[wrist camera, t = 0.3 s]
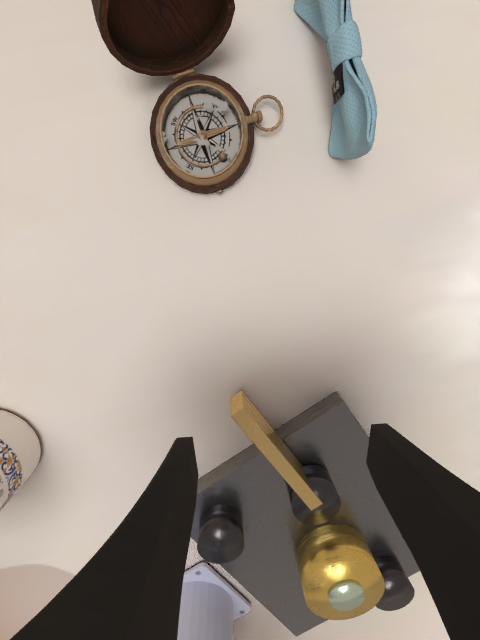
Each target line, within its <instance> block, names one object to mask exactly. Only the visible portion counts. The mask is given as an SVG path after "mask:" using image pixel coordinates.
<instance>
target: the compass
mask: <svg viewBox="0 0 480 640" xmlns="http://www.w3.org/2000/svg"><path fill="white" fill-rule="evenodd" d="M92 5H93V9H94V14H95V19H96V22H97V25H98V28H99V31H100V33H101V36H102V39H103V41H104V42H105V44H106V46H107V48H108V49H109V51H110V53H111V54H112V55H113V56H114V57H115V58H116V59H117V60H118V61H119V62H120V63H121V64H122V65H124V66H126V67H128V68H130V69H131V70H133V71H135V72H138V73H142V74H146V75H151V76H168V75H172V76H173V79H177V78H178V79H177V80H176V81H174V82H172V83H171V84H170V85H169V86H168V87H167V88H166V89H165V90H164V92H163V93H162V94H161V95H160V96H159V98H158V100H157V102H156V105H155V107H154V109H153V111H152V117H151V123H150V136H151V145H152V148H153V151H154V153H155V156H156V159H157V161H158V163H159V164H160V166H161V167H162V169H163V170H164V171H165V173H166V174H167V175H168V176H169V177H170V178H171V179H172V180H173V181H174V182H175V183H177V184H178V185H179V186H181V187H183V188H185V189H187V190H190V191H192V192H198V193H205V194H207V193H213V192H217V193H221V192H222V191H223V189H225V188H227V187H229V186H231V185H232V184H233V183H234V182H235V181H236V180H237V179H238V178H239V177H240V176H241V175H242V174H243V172H244V170H245V169H246V167H247V165H248V163H249V161H250V157H251V153H252V149H253V145H254V126H253V125H252V123H254V124H255V125H256V126H257V127H258V128H259V129H260V130H263V131H266V132H267V131H273V130H274V129H276V128H277V127H278V126H279V125H280V123H281V122H282V118H283V107H282V105H281V103H280V101H279V100H278V99H277V98H276V97H274V96H271V95H263V96H262V97H260V98H258V99H257V101H256V102H255V103H254V105H253V109H252V114H251V115H250V111H249V109H248V107H247V106H246V104H245V102H244V100H243V99H242V97H241V95H240V94H239V93H238V92H237V91H236V90H235V89H234V88H233V87H232V86H231V85H230V84H228V83H226V82H224V81H222V80H221V79H219V78H217V77H215V76H209V75H204V74H192V75H190V74H191V73H194V69H193V67H194V66H196V65H198V64H199V63H201V62H202V61H203V60H205V59H206V58H207V57H209V56H210V55H211V54H212V53H213V52H214V50H215V49H216V48H217V47H218V46H219V45H220V44H221V42H222V41H223V39H224V37H225V35H226V33H227V32H228V30H229V28H230V26H231V22H232V18H233V15H234V11H235V4H234V0H92ZM265 98H270V99H273V100H275V101H276V102H277V103H278V105H279V107H280V111H281V116H280V120H279V122H278V123H277V125H276V126H274V127H272V128H267V129H266V128H263V127H261V126H260V125H259V124H258V123H257V122H260V121H262V113H261V111H257V112H254V111H255V107H256V105H257V104H258V102H259V101H261V100H262V99H265Z"/></svg>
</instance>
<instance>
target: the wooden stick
mask: <svg viewBox="0 0 480 640" xmlns="http://www.w3.org/2000/svg"><path fill="white" fill-rule="evenodd" d="M230 408H231V417H232V418H233V419H234V420H235V422H236V423H237V424H238V425H239V426H240V427H241V429H242V430H243V431H244V432H245V433H246V435H247V436H248V437H249V438H250V439H251V440H252V442H253V443H254V444H255V445H256V446H257V447H258V449H259V450H260V451H261V452H262V453H263V454H264V456H265V457H266V458H267V459H268V460H269V462H270V463H271V464H272V465H273V466H274V467H275V469H276V470H277V471H278V472H279V473H280V474H281V476H282V477H283V478H284V479H285V480H286V482H287V491H288V495H289V499H290V503H291V507H292V511H293V514H294V516H295V517H296V518H297V519H298V520H299V521H300V522H302V523H304V524H308V525H319V524H323V523H326V522H328V521H330V520H331V519H332V518H334V517H335V516H336V515H337V513H338V512H339V510H340V506H341V500H340V497H339V495H338V492H337V490H336V488H335V486H334V484H333V481H332V479H331V477H330V475H329V473H328V472H327V471H326V470H325V469H324V468H322V467H320V466H317V465H306V466H302V464H301V463H300V462H299V461H298V459H297V458H296V457H295V456H294V454H293V453H292V452H291V451H290V450H289V448H288V447H287V446H286V445H285V443H284V442H283V441H282V440H281V438H280V437H279V436H278V435H277V434H276V432H275V431H274V430H273V429H272V427H271V426H270V425H269V424H268V422H267V421H266V420H265V419H264V418H263V416H262V415H261V414H260V413H259V411H258V410H257V409H256V408H255V406H254V405H253V404H252V403H251V402H250V400H249V399H248V398H247V397H246V395H245V394H244V393H243V392H242V390H241V391H240V392H238V393H237V394H235V395H234V396H232V397H231V398H230Z"/></svg>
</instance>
